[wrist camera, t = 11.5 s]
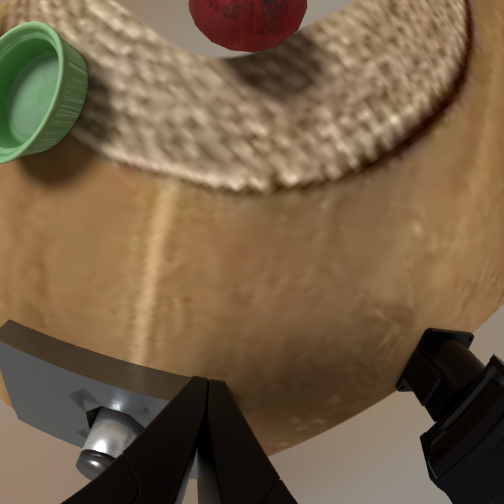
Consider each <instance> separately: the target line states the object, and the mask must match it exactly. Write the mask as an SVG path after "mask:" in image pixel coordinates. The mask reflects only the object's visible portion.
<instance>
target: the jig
mask: <svg viewBox="0 0 504 504" xmlns="http://www.w3.org/2000/svg"><path fill="white" fill-rule="evenodd" d="M0 370H1V373H2V376H3V379H4V382H5V385H6V388H7V391H8V393H9V396H10V399H11V402H12V404H13V407H14V409H15V412H16V414H17V416H18V419H19V420H21V421H23V422H25V423H27V424H29V425H31V426H33V427H35V428H37V429H39V430H41V431H43V432H46V433H48V434H50V435H52V436H54V437H56V438H59V439H61V440H63V441H66V442H69V443H71V444H73V445H76V446H79V447H81V448H83V447H84V444H85V442H86V440H87V438H88V435H89V433H90V431H91V429H92V427H93V424H94V422H95V420H96V418H97V416H98V414H99V411H100V409H101V407H100V406H104V407H107V408H110V409H113V410H117V411H120V412H123V413H127V414H129V415H130V416H132V417H133V418H134V419H135V420H136V421H137V422H138V423H140V424H141V425H142V426H143V427H144V428H143V430H144V429H145V428H146V426H147V425H148V424H149V423H150V422H151V421H152V420H153V419H154V418H155V417H156V416H157V415H158V413H159V412H160V411H161V410H162V409H163V408H164V407H165V406H166V405H167V404H168V403H169V401H170V400H171V399H172V398H173V397H174V396H175V395H176V394H177V393H178V391H179V390H180V389H181V388H182V387H183V386H184V385H185V384H186V383H187V381H188V380H189V379H190V377H186V376H181V375H176V374H172V373H168V372H163V371H159V370H155V369H151V368H147V367H143V366H140V365H136V364H132V363H129V362H125V361H121V360H118V359H115V358H111V357H108V356H105V355H101V354H98V353H95V352H92V351H89V350H86V349H83V348H80V347H77V346H74V345H71V344H69V343H66V342H63V341H60V340H58V339H55V338H52V337H50V336H47V335H45V334H42V333H40V332H37V331H35V330H32V329H30V328H28V327H25V326H23V325H21V324H18V323H16V322H14V321H11V320H8V321H7V322H6V323H5V324H4V325H3V326H2V327H0ZM190 478H196V479H197V452H196V456H195V460H194V464H193V467H192V471H191V474H190Z"/></svg>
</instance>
